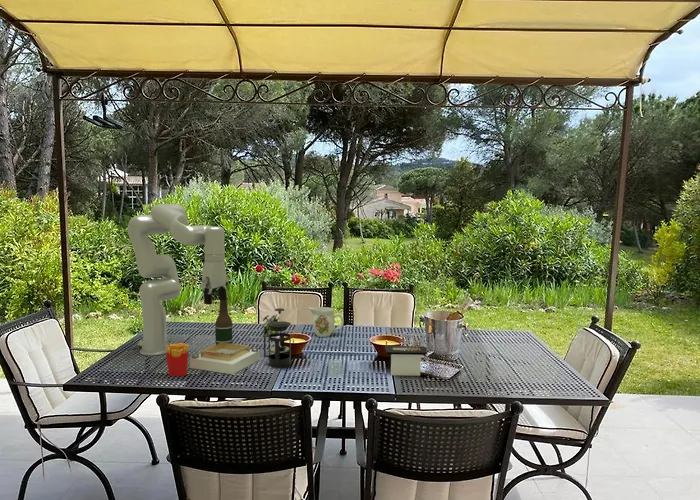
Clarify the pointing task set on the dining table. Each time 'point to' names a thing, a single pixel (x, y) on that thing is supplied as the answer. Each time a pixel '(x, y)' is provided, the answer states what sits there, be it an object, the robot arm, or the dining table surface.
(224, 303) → the beer bottle
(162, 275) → the robot arm
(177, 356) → the french fries
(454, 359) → the dining table surface
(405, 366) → the dark-capped white block
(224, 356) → the gold-rimmed square tray
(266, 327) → the passion flower
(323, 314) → the pitcher
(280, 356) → the french press
